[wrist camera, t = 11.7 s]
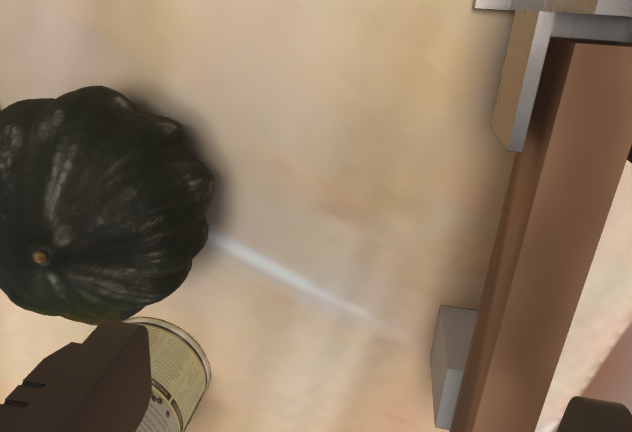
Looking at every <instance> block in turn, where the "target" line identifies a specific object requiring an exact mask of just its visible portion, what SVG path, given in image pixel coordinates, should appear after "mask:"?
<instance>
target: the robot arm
mask: <svg viewBox="0 0 632 432" xmlns="http://www.w3.org/2000/svg"><path fill="white" fill-rule="evenodd" d="M151 391H152V379H151V364H150V350H149V335H148V330H147V328H146V327H145V326H143V325H137V324H131V323H125V322H119V321H112V320H105V321H103V322H101V323H100V324H99V325H98V326H97V328H96V329H95V330H94V331H93V332H92V333H91V334H90V335H89V337H88V338H87V339H86V340H85V341H84V342H83V343H82V344H80V343H74V342H71V343H69V344H68V345H66V346H64V347H63V348H61V349H59V350H58V351H56V352H54V353H53V354H51V355H49V356H48V357H46V358H44V359H43V360H42V361H41V362H40V363H39V364H38V365H37V366H36V367H35V369H34V370H33V371H32V372H31V373H30V374H29V375H28V376H27V377H26V378H25V379H24V380H23V383H22V385H18V386H17V387H16V388H15V389H14V390H13V392H12V393H11V394H10V395H9V396H8V397H7V398H6V399H5V403H4V404H0V432H136V430H137V428H138V427H139V425H140V423H141V421H142V420H143V418H144V416H145V413H146V411H147V408H148V405H149V402H150V397H151ZM557 432H632V415H631V413H630V411H629V410H628V409H627V408H626V407H625V406H624V405H623V404H621V403H616V402H609V401H603V400H597V399H591V398H585V397H579V396H576V397H573V398H572V399H571V400H570V402H569V403H568V405H567V408H566V410H565V413H564V415H563V418H562V420H561V422H560V425H559V427H558V430H557Z"/></svg>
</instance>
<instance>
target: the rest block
mask: <svg viewBox="0 0 632 432" xmlns="http://www.w3.org/2000/svg"><path fill="white" fill-rule="evenodd" d="M477 315H478V311H477V310H470V309H463V308H456V307H449V306H442V305H441V306H440V311H439V316H438V321H437V326H436V331H435V336H434V341H433V346H432V351H431V356H430V363H431V377H432V392H433V407H434V421H435V428H441V429H447V430H450V428H451V424H452V419H453V415H454V411H455V407H456V403H457V398H458V394H459V390H460V386H461V382H462V378H463V373H464V369H465V365H466V361H467V357H468V352H469V348H470V344H471V340H472V336H473V331H474V327H475V323H476V319H477Z"/></svg>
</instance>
